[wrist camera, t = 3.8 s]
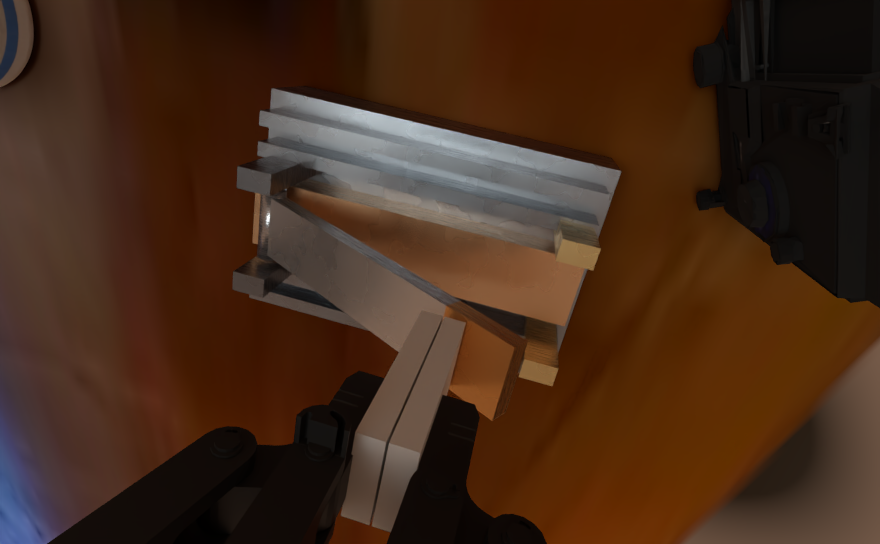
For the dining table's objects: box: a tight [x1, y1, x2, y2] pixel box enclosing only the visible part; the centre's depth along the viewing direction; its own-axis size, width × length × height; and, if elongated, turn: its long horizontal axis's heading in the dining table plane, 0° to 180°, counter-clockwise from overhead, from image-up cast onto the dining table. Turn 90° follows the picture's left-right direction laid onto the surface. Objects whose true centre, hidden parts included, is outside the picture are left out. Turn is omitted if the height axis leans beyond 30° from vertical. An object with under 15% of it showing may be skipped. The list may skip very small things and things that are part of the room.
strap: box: [257, 189, 528, 421], centre depth 21 cm, size 16×4×1 cm
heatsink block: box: [233, 86, 621, 386], centre depth 27 cm, size 18×12×9 cm, turn 78°
